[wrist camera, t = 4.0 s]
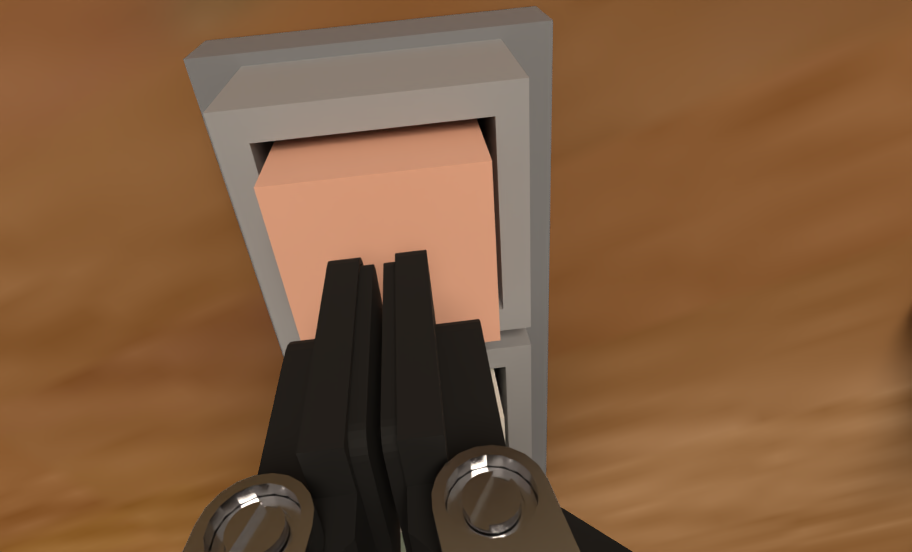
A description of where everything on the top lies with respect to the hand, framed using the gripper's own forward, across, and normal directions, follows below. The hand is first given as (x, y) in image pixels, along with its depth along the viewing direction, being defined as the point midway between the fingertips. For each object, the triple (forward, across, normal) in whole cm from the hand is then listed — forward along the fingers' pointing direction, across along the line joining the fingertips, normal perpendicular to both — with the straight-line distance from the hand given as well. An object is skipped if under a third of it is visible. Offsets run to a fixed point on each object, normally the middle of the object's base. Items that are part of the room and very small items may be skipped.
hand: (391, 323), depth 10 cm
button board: (+9, 0, +7) cm, 11 cm away
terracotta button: (+5, 0, 0) cm, 5 cm away
